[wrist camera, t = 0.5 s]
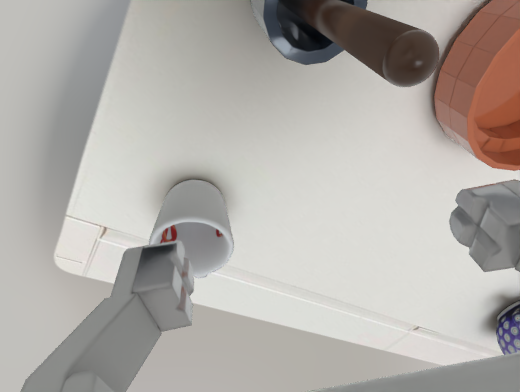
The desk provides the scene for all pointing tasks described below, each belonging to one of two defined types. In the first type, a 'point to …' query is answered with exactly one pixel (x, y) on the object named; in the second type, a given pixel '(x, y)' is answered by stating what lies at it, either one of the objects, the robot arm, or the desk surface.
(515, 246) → the robot arm
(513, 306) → the teapot
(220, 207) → the cup
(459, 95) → the bowl
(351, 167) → the desk surface
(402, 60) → the stick
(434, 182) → the desk surface
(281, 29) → the crock
